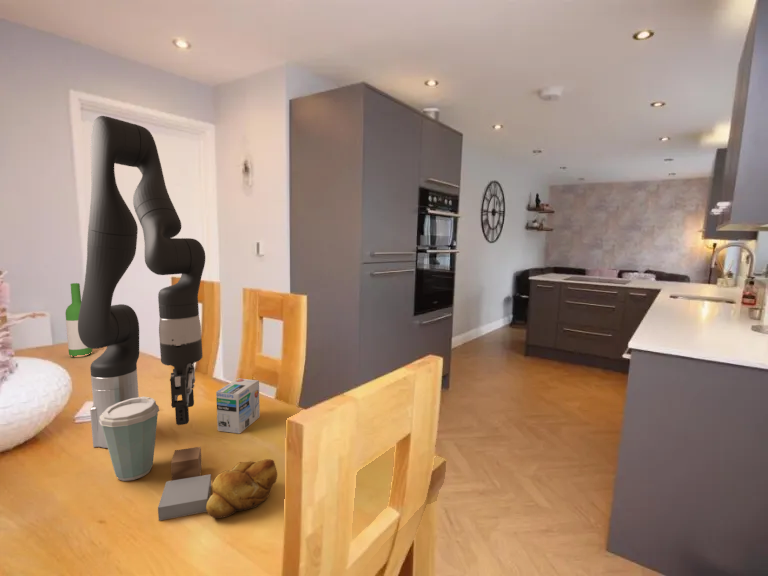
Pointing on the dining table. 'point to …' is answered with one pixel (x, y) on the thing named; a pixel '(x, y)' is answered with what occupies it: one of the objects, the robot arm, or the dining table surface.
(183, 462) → the walnut cube
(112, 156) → the robot arm
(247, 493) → the bread roll
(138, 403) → the disposable coffee cup
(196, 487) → the slate coaster
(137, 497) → the dining table surface
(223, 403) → the light bulb box
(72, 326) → the wine bottle
